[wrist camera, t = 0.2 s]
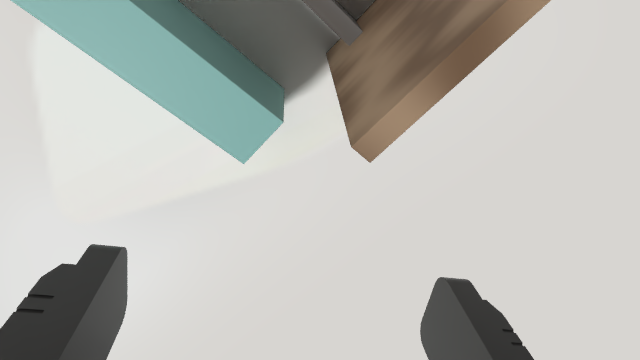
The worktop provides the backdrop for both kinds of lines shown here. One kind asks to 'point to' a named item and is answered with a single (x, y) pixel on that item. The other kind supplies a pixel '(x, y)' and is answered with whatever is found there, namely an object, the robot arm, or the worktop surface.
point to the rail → (174, 65)
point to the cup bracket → (409, 58)
